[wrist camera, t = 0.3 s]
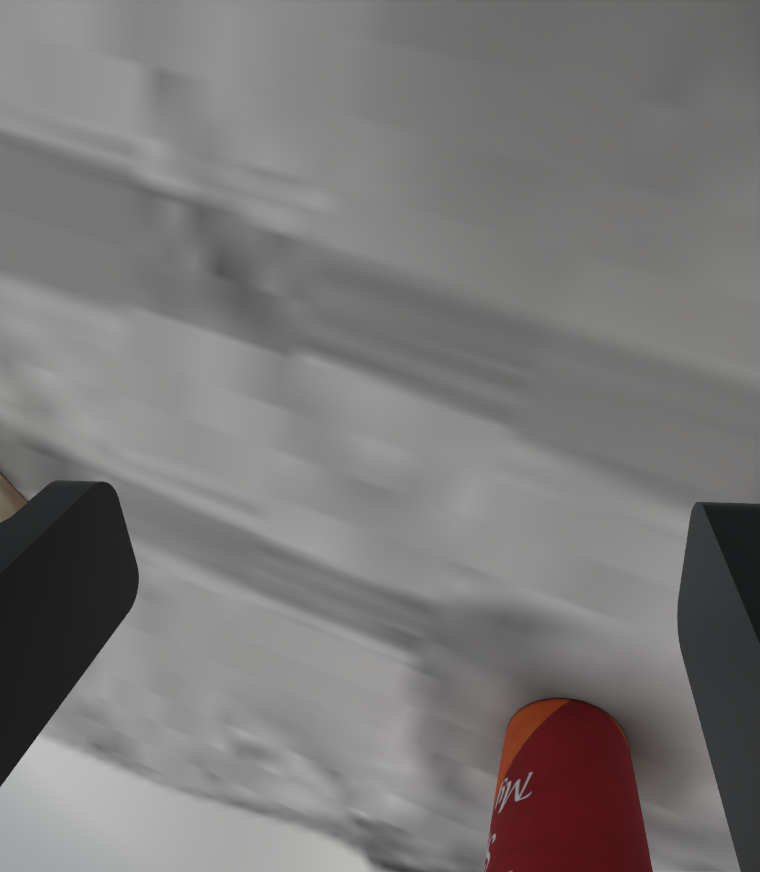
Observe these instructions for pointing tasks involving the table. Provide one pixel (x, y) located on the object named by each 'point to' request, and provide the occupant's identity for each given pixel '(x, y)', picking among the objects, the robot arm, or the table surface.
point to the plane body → (9, 500)
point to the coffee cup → (566, 794)
